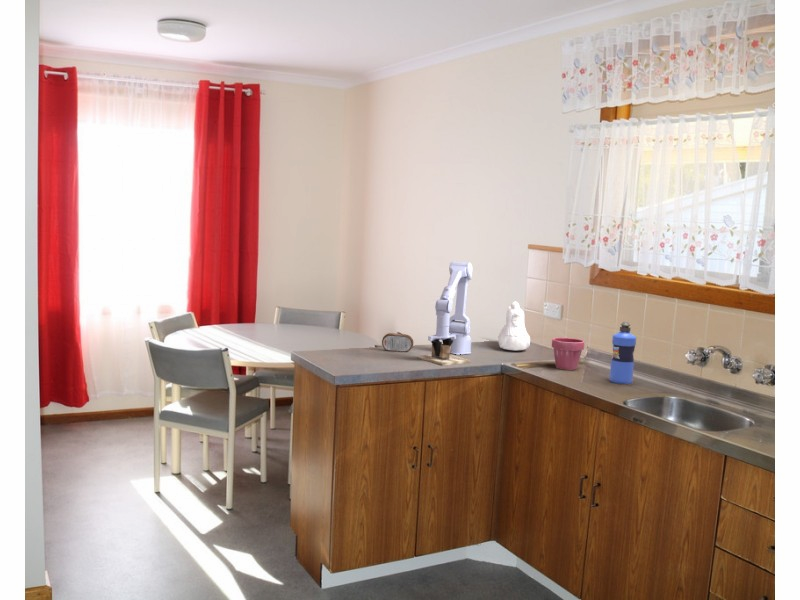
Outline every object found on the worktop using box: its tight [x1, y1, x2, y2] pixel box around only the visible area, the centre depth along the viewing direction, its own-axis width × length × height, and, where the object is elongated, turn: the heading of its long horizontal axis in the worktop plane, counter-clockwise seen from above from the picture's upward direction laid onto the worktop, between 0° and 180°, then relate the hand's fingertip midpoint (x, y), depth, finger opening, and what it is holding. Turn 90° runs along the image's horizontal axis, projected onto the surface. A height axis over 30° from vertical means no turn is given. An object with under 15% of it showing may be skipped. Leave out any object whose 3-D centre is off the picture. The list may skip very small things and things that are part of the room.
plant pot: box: [551, 337, 585, 371], centre depth 319 cm, size 14×14×13 cm
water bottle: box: [609, 321, 637, 385], centre depth 295 cm, size 9×9×25 cm
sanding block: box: [431, 343, 451, 360], centre depth 324 cm, size 4×8×6 cm, turn 35°
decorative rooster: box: [497, 300, 531, 352], centre depth 360 cm, size 25×16×25 cm, turn 167°
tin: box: [381, 332, 414, 353], centre depth 341 cm, size 15×3×8 cm, turn 84°
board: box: [417, 353, 471, 366], centre depth 324 cm, size 16×18×1 cm
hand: (441, 355), depth 323 cm, fingers closed on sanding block, 4 cm apart
